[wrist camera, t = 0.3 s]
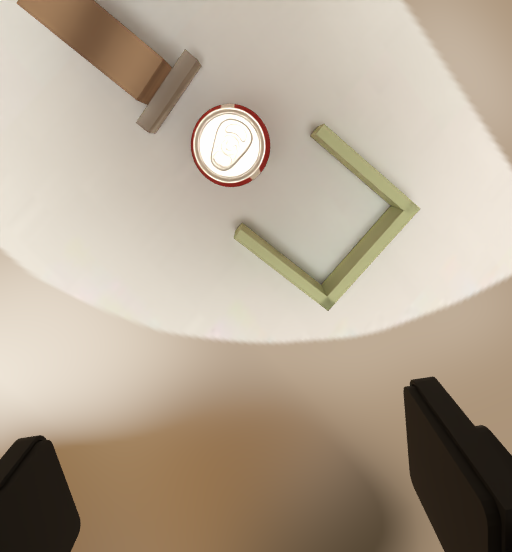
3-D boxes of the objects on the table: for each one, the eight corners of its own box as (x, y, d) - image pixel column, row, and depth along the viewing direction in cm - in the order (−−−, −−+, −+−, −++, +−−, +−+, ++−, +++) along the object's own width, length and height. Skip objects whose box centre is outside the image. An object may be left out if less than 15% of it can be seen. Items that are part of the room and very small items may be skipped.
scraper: (45, 46, 35) (4, 25, 29) (89, -29, 33) (55, -68, 27) (155, 133, 37) (136, 129, 31) (201, 66, 35) (191, 49, 29)
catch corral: (235, 231, 39) (233, 238, 36) (317, 126, 36) (323, 123, 33) (322, 298, 41) (328, 310, 38) (405, 204, 38) (420, 208, 35)
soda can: (276, 137, 37) (286, 129, 25) (248, 188, 38) (245, 203, 26) (225, 106, 36) (211, 83, 24) (198, 159, 37) (173, 162, 26)
